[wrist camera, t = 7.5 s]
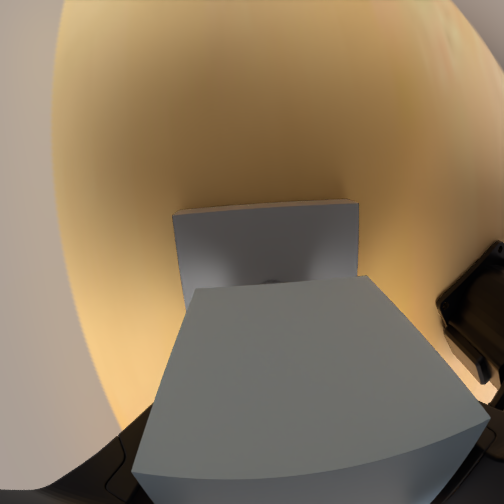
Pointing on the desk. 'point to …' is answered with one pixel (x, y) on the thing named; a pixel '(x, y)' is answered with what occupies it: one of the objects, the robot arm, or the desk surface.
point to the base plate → (266, 243)
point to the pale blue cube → (304, 402)
